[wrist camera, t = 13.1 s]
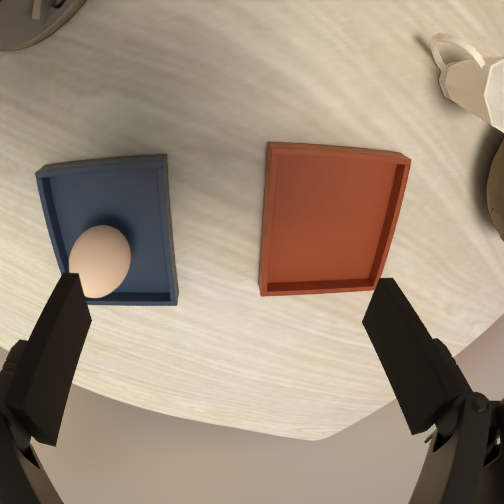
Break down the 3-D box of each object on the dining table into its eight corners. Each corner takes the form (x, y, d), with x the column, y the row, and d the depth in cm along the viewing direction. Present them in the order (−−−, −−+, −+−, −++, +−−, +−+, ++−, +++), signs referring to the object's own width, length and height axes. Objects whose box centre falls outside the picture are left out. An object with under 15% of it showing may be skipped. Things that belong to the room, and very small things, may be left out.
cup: (455, 127, 26) (508, 152, 20) (395, 60, 23) (450, 66, 16) (485, 83, 24) (539, 100, 17) (430, 14, 20) (487, 12, 13)
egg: (137, 214, 28) (116, 264, 22) (138, 263, 31) (121, 319, 24) (83, 210, 27) (50, 256, 21) (87, 258, 30) (62, 310, 23)
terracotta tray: (267, 141, 26) (271, 147, 25) (400, 152, 28) (411, 159, 26) (258, 283, 35) (260, 296, 33) (369, 279, 36) (376, 290, 34)
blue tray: (44, 165, 25) (34, 172, 23) (166, 153, 26) (163, 160, 24) (77, 292, 33) (71, 304, 31) (178, 292, 34) (177, 305, 32)
